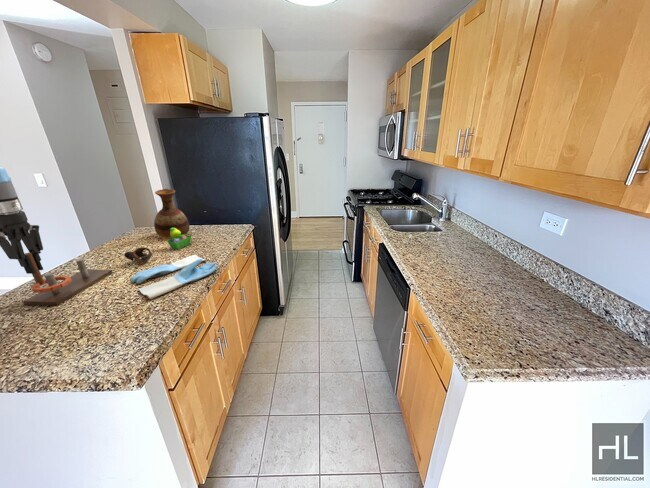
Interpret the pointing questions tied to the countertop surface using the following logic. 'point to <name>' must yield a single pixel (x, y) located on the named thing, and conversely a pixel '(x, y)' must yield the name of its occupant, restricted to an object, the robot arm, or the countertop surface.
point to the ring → (41, 281)
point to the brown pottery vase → (169, 215)
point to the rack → (68, 286)
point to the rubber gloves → (171, 283)
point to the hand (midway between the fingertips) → (35, 271)
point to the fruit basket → (178, 239)
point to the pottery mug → (138, 255)
